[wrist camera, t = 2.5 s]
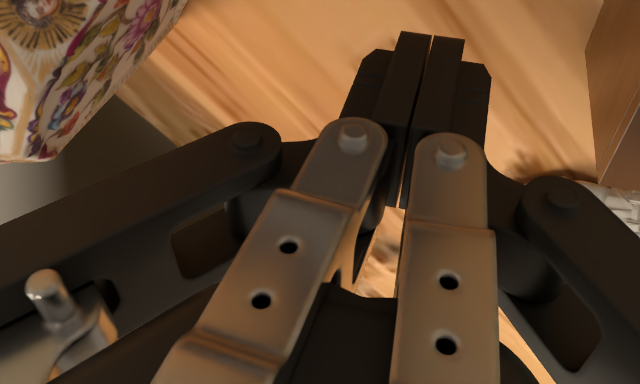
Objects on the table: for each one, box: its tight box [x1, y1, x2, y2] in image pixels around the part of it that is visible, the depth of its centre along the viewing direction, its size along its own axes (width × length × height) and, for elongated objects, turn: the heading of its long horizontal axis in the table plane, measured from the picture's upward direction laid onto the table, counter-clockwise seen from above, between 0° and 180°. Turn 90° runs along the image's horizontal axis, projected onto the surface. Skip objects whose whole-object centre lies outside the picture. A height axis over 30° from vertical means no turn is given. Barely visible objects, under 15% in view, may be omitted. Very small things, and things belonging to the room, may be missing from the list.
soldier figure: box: [524, 175, 640, 237], centre depth 33 cm, size 8×5×12 cm
